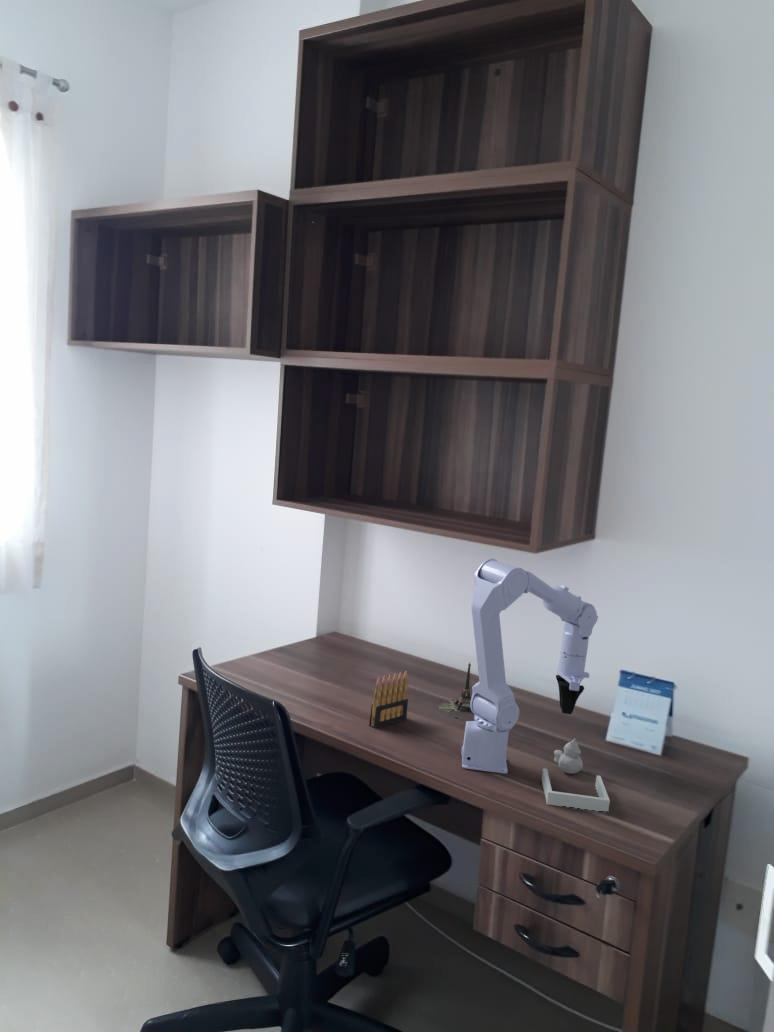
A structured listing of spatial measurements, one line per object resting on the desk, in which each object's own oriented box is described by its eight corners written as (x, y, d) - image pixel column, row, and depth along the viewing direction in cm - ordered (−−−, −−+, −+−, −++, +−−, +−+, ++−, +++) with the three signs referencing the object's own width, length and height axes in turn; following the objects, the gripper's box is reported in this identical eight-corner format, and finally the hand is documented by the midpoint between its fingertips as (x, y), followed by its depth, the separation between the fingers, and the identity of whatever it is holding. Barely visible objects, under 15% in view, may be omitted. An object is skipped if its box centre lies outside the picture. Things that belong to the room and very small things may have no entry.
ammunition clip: (401, 716, 196) (406, 668, 194) (406, 719, 195) (411, 671, 193) (368, 725, 188) (373, 676, 187) (374, 728, 187) (379, 678, 185)
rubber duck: (575, 780, 170) (580, 744, 169) (546, 769, 174) (551, 734, 173) (586, 772, 175) (591, 737, 174) (558, 762, 179) (562, 727, 177)
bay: (546, 804, 158) (548, 792, 158) (541, 779, 169) (543, 768, 169) (608, 812, 157) (609, 800, 157) (598, 787, 168) (600, 775, 168)
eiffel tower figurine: (464, 697, 215) (470, 648, 213) (496, 709, 208) (502, 659, 207) (429, 709, 204) (434, 658, 202) (461, 722, 197) (468, 669, 195)
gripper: (596, 664, 175) (588, 724, 177) (586, 645, 189) (579, 701, 191) (563, 660, 175) (555, 720, 177) (556, 642, 190) (548, 697, 191)
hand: (565, 710), depth 184 cm, fingers open, 3 cm apart
